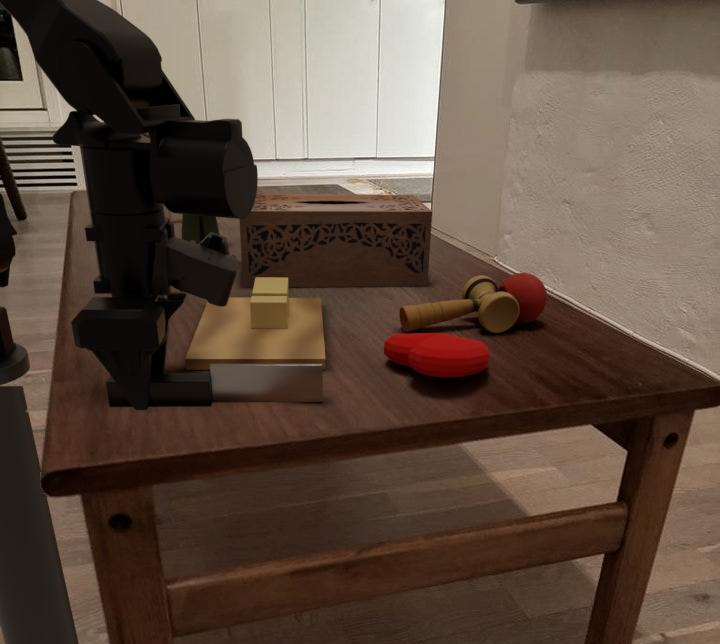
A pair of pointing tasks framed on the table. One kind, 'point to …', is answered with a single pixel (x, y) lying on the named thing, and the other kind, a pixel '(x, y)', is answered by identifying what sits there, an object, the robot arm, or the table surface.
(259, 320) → the butter slice
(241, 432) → the table surface
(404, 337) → the heart
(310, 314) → the board
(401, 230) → the tissue box cover
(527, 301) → the kendama
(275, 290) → the butter block
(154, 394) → the knife
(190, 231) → the character mug
